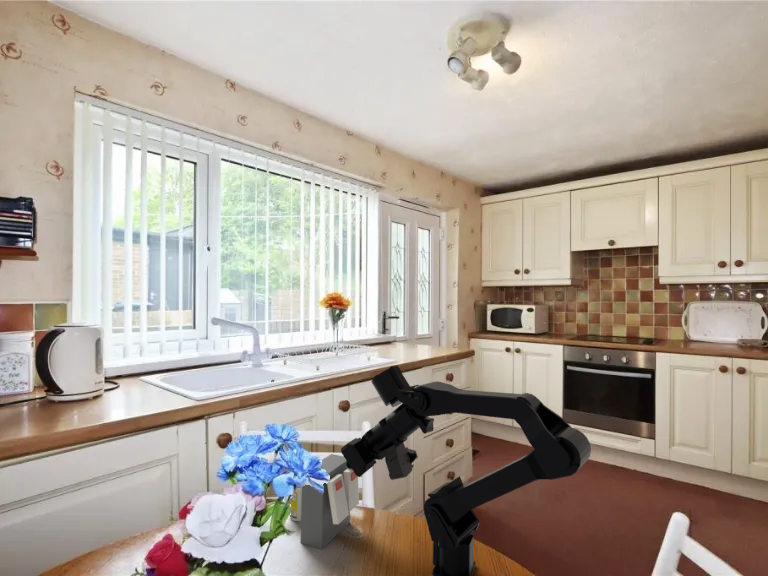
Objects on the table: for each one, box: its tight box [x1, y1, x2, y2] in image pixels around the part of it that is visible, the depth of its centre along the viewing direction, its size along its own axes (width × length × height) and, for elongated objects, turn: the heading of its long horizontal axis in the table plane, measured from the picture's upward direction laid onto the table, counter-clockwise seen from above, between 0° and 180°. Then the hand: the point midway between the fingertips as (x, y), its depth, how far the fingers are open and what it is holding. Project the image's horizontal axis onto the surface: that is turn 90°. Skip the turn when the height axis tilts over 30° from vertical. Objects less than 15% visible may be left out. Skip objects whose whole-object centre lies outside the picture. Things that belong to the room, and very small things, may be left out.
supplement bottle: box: [289, 487, 302, 522], centre depth 93 cm, size 5×5×10 cm
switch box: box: [300, 453, 351, 550], centre depth 87 cm, size 5×11×14 cm, turn 155°
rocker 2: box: [344, 468, 360, 513], centre depth 87 cm, size 2×4×8 cm, turn 155°
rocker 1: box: [327, 474, 349, 524], centre depth 82 cm, size 2×4×8 cm, turn 155°
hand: (348, 466), depth 88 cm, fingers closed
